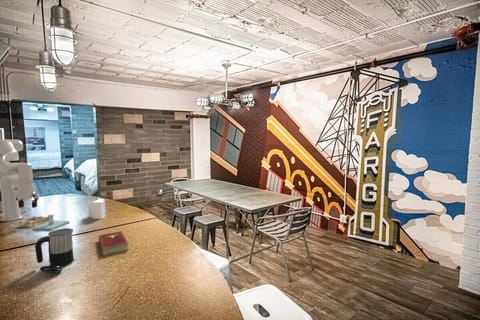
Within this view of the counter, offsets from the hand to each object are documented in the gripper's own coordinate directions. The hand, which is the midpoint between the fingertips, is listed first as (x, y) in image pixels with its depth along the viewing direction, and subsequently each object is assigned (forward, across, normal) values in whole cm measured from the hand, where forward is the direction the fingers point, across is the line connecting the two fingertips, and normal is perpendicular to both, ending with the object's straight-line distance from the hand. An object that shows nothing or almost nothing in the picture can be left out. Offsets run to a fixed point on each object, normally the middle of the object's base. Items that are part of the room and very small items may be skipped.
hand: (28, 207), depth 167 cm
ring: (+12, +4, 0) cm, 12 cm away
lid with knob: (+12, +19, -3) cm, 22 cm away
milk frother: (+14, +67, -51) cm, 85 cm away
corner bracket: (+12, +35, +20) cm, 42 cm away
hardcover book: (+15, +77, -26) cm, 82 cm away
